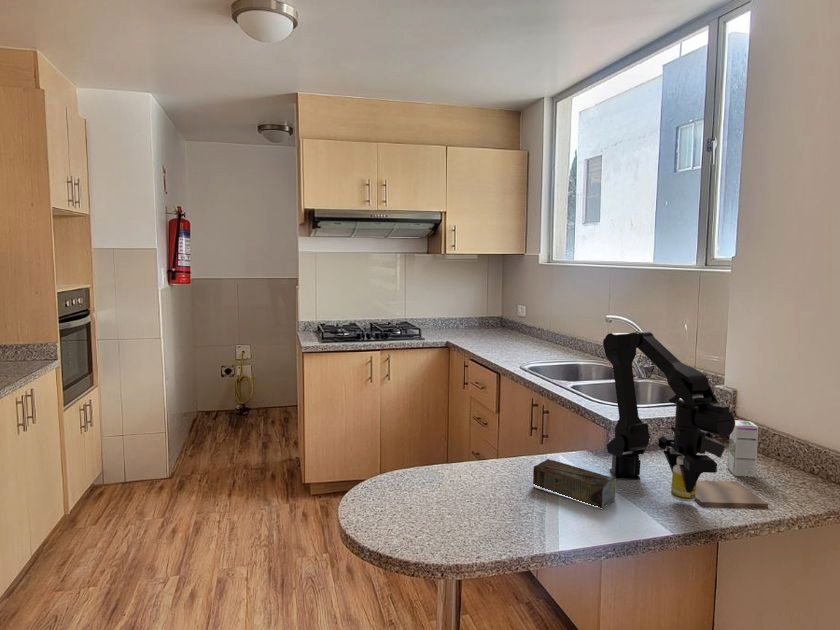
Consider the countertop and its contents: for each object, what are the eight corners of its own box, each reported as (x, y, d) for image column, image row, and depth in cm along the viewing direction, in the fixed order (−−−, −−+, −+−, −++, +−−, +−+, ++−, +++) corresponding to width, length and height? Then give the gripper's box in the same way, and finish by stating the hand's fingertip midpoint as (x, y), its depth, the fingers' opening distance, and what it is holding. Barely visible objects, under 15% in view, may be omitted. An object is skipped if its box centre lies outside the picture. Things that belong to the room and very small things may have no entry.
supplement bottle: (693, 504, 134) (696, 464, 133) (669, 498, 137) (671, 459, 136) (696, 496, 138) (699, 457, 137) (672, 491, 141) (675, 453, 140)
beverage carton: (602, 511, 133) (603, 484, 132) (530, 489, 146) (531, 464, 145) (615, 501, 139) (617, 475, 138) (546, 480, 152) (547, 456, 151)
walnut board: (701, 506, 137) (701, 502, 136) (676, 483, 150) (676, 479, 150) (768, 507, 136) (768, 503, 136) (736, 485, 150) (737, 481, 150)
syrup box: (756, 477, 156) (760, 426, 154) (733, 475, 157) (736, 424, 156) (748, 470, 161) (752, 420, 160) (726, 468, 162) (729, 419, 161)
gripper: (743, 437, 126) (737, 504, 128) (703, 415, 145) (699, 474, 146) (692, 436, 127) (688, 503, 128) (659, 414, 145) (655, 472, 147)
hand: (683, 487), depth 137 cm, fingers closed on supplement bottle, 5 cm apart
